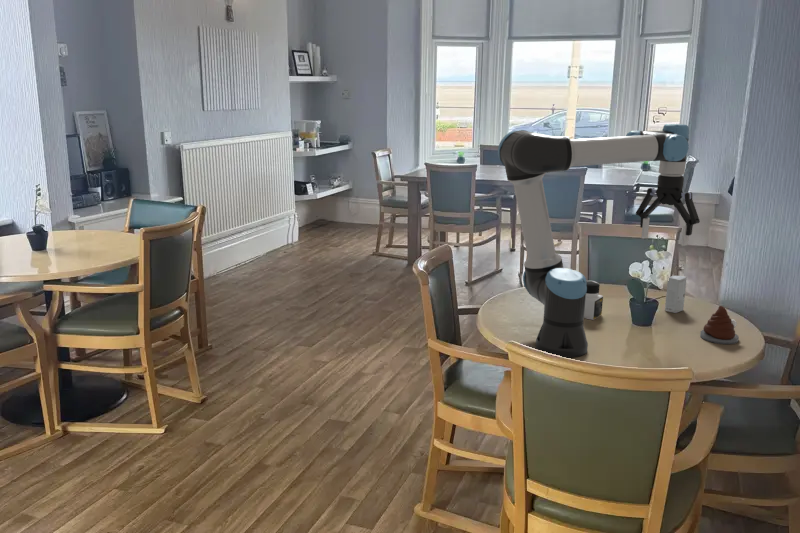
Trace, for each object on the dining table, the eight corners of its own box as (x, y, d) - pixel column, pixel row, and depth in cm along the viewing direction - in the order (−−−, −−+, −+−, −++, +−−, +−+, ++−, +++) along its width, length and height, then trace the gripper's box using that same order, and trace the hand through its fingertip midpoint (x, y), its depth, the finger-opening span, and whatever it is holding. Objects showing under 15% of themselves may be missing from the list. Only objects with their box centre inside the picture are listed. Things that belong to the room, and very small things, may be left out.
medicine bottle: (593, 320, 235) (596, 286, 232) (573, 316, 239) (576, 282, 236) (601, 315, 240) (604, 281, 237) (582, 311, 245) (584, 278, 242)
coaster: (728, 347, 212) (729, 343, 212) (693, 337, 220) (694, 333, 220) (744, 338, 219) (744, 335, 219) (710, 329, 227) (710, 326, 227)
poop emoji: (697, 330, 222) (700, 302, 220) (720, 328, 224) (723, 301, 222) (718, 341, 213) (722, 312, 211) (741, 339, 215) (746, 310, 213)
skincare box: (676, 313, 243) (679, 280, 240) (663, 310, 246) (667, 277, 243) (683, 309, 247) (687, 277, 244) (671, 307, 250) (675, 274, 247)
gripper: (716, 177, 210) (708, 246, 215) (641, 170, 228) (634, 233, 233) (704, 179, 205) (696, 250, 210) (628, 171, 223) (622, 236, 228)
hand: (664, 241), depth 222 cm, fingers open, 13 cm apart
